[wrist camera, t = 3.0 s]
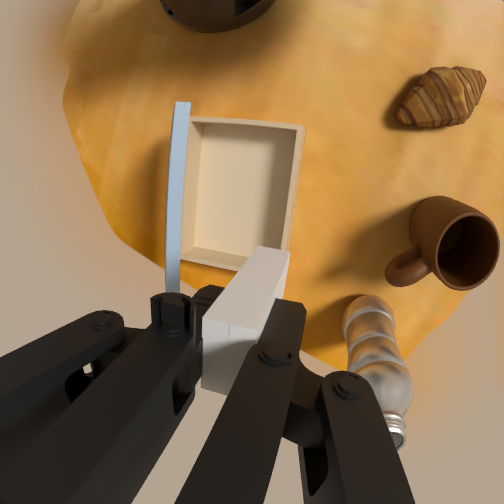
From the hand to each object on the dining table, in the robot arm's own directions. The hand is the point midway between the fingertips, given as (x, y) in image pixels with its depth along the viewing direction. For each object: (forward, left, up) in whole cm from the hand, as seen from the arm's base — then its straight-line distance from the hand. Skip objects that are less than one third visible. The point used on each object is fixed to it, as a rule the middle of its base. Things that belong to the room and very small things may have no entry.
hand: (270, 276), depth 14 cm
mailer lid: (0, -10, -10) cm, 15 cm away
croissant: (-15, +14, -21) cm, 29 cm away
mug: (+1, +14, -21) cm, 25 cm away
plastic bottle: (+12, +10, -21) cm, 26 cm away
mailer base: (0, -7, -20) cm, 22 cm away
